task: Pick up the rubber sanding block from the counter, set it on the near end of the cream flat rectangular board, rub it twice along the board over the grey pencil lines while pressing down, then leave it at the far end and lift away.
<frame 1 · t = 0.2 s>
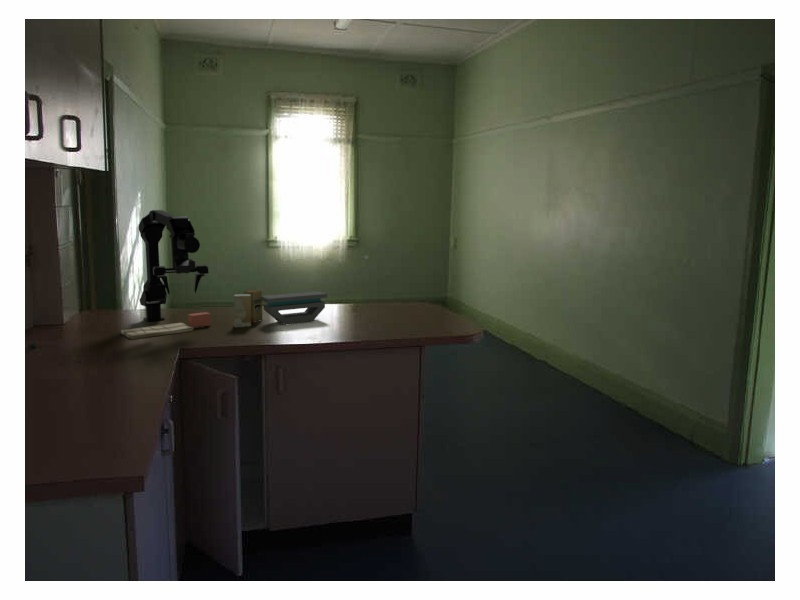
hand: (182, 293, 224), 14 cm above the kitchen counter, tool pointing down, fingers open, 9 cm apart
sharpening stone: (295, 322, 244), on the kitchen counter
cream flat rectangular board: (157, 332, 224), on the kitchen counter
sanding block: (199, 326, 234), on the kitchen counter
skincare box: (243, 326, 235), on the kitchen counter
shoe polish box: (253, 321, 245), on the kitchen counter
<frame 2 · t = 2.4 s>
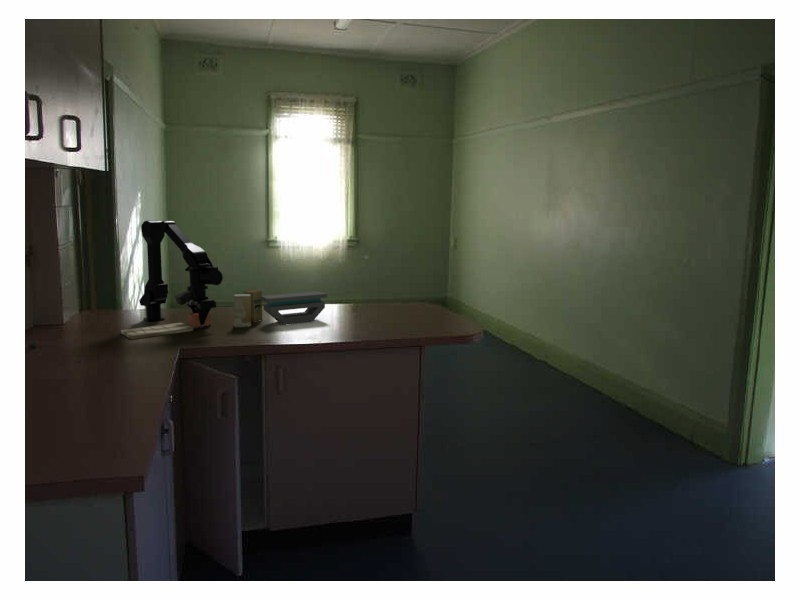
hand: (199, 323, 234), 1 cm above the kitchen counter, tool pointing down, fingers closed on sanding block, 4 cm apart
sanding block: (199, 326, 234), on the kitchen counter, touching gripper
everything else where it was.
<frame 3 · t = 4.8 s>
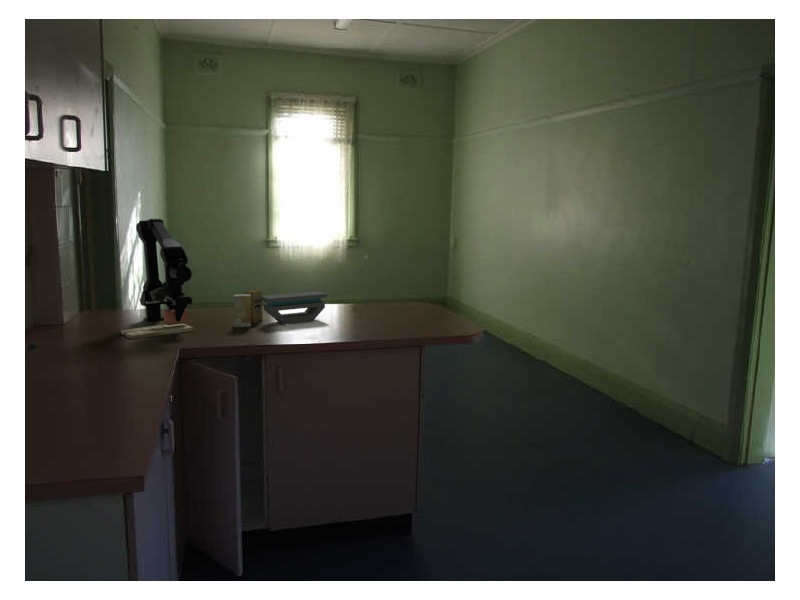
hand: (175, 320, 228), 3 cm above the kitchen counter, tool pointing down, fingers closed on sanding block, 4 cm apart
sanding block: (176, 323, 228), point 2 cm above the kitchen counter, touching gripper
everything else where it was.
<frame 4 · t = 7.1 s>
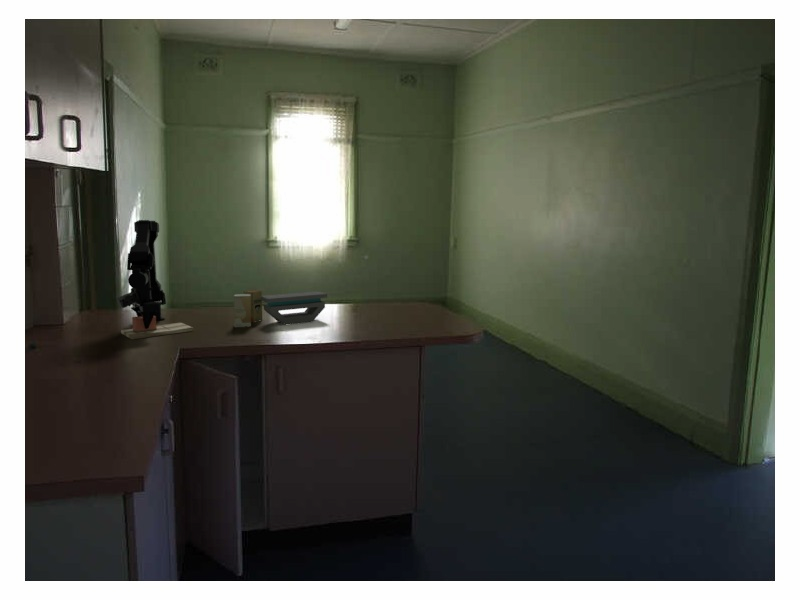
hand: (144, 327, 220), 2 cm above the kitchen counter, tool pointing down, fingers closed on sanding block, 4 cm apart
sanding block: (144, 330, 220), point 1 cm above the kitchen counter, touching gripper
everything else where it was.
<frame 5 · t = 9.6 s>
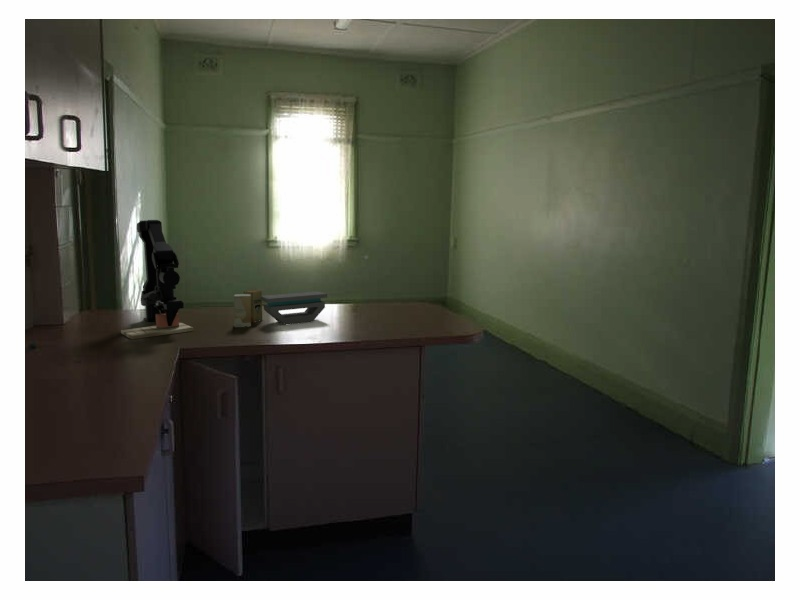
hand: (167, 324, 226), 2 cm above the kitchen counter, tool pointing down, fingers closed on sanding block, 4 cm apart
sanding block: (167, 327, 226), point 1 cm above the kitchen counter, touching gripper
everything else where it was.
when the fingers open (2 cm above the kitchen counter, at t = 12.1 s): sanding block stays where it is, resting on cream flat rectangular board.
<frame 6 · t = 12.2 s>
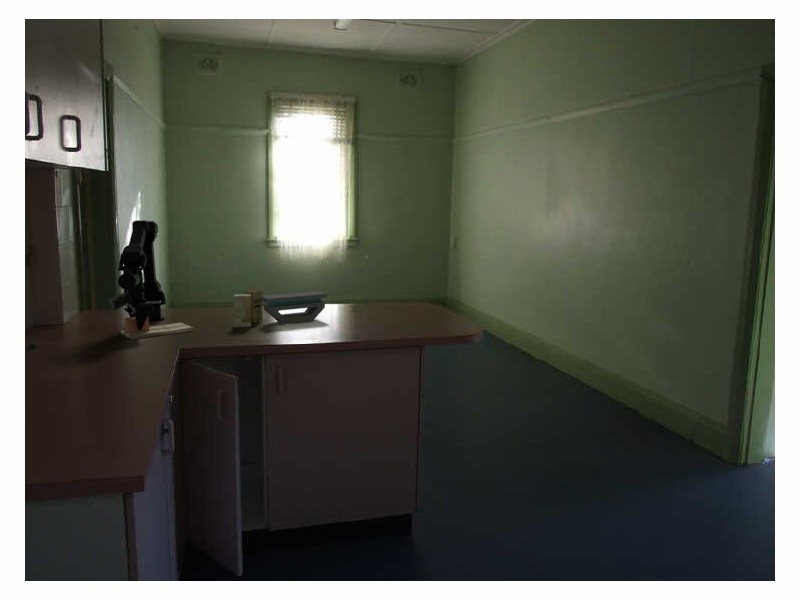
hand: (137, 328, 219), 2 cm above the kitchen counter, tool pointing down, fingers open, 5 cm apart
sanding block: (137, 331, 219), point 1 cm above the kitchen counter, touching cream flat rectangular board
everything else where it was.
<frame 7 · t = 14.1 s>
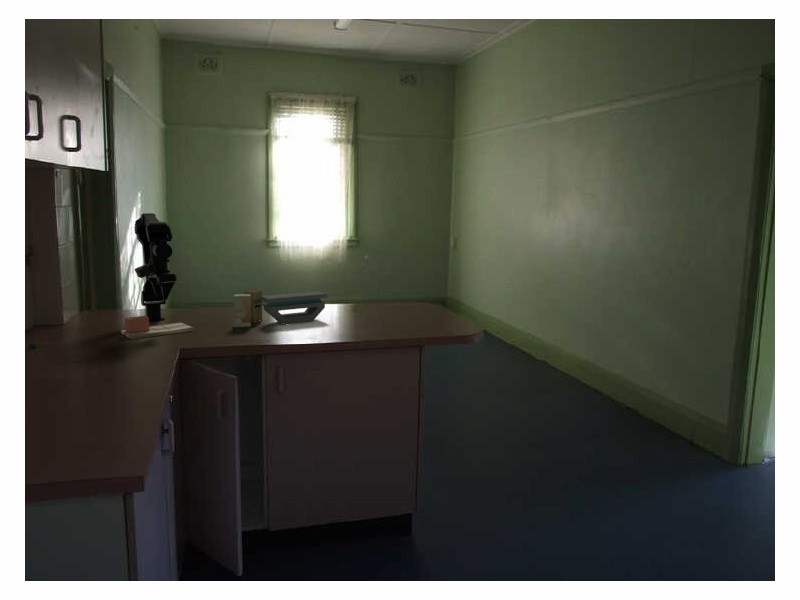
hand: (161, 297, 228), 12 cm above the kitchen counter, tool pointing down, fingers open, 9 cm apart
nothing on the kitchen counter moved.
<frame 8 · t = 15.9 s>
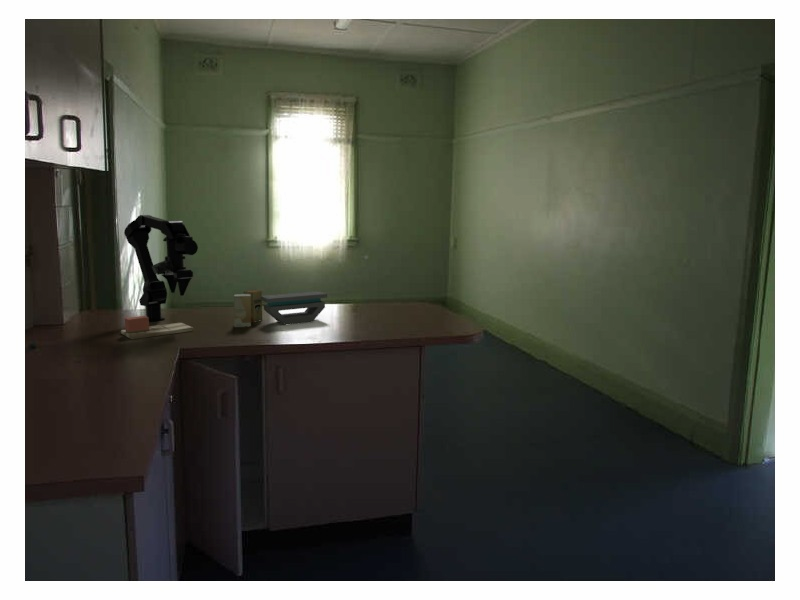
hand: (177, 294, 235), 12 cm above the kitchen counter, tool pointing down, fingers open, 9 cm apart
nothing on the kitchen counter moved.
at the end: sanding block inside the target area (0.2 cm from its centre), point 1.2 cm above the kitchen counter; the gripper is holding nothing; sanding block tilted 0° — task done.
